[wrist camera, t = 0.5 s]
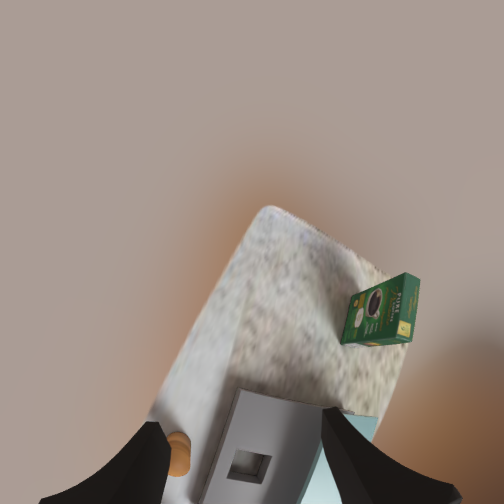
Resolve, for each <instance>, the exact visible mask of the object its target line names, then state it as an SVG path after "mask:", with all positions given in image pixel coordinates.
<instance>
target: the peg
mask: <svg viewBox="0 0 504 504" xmlns="http://www.w3.org/2000/svg"><path fill="white" fill-rule="evenodd" d="M167 440H168V442H169V444H170V446H171V448H172V450H171V460H170V468H169V472H168V475H170V476H174V477H180V476H183V475H185V474H187V473H188V471H189V470H190V456H191V441H190V439H189V437H188V436H187V435H185V434H184V433H181V432H173V433H171V434H169V435H168V437H167Z"/></svg>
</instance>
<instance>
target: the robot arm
mask: <svg viewBox="0 0 504 504" xmlns="http://www.w3.org/2000/svg"><path fill="white" fill-rule="evenodd" d="M321 440H322V444H323V449H324V453H325V457H326V459H327V462H328V465H329V468H330V470H331V473H332V476H333V478H334V481H335V483H336V486H337V489H338V491H339V495H340V498H341V502H342V504H460V503H461V501H462V499H463V498H462V496H461V495H460V493H459V492H458V490H457V489H456V488H455V487H454V485H453V484H449V483H445V482H442V481H438V480H435V479H432V478H429V477H427V476H424V475H422V474H419V473H417V472H415V471H413V470H411V469H409V468H407V467H405V466H403V465H401V464H400V463H398V462H396V461H395V460H393V459H392V458H390V457H389V456H387V455H386V454H384V453H383V452H382V451H380V450H379V449H378V448H377V447H375V446H374V445H373V444H372V443H371V442H370V441H368V440H367V439H366V438H365V437H364V436H363V435H362V434H361V433H360V432H359V431H358V430H357V429H356V428H355V427H354V426H353V425H352V424H351V423H350V422H349V421H348V419H347V418H346V417H345V416H344V415H343V413H342V412H341V411H340V410H339V408H338V407H332V408H327V409H322V426H321ZM171 450H172V448H171V446H170V444H169V442H168V440H167V438H166V436H165V434H164V432H163V430H162V428H161V426H160V424H159V422H148V421H146V422H145V423H144V425H143V426H142V427H141V428H140V429H139V430H138V431H137V433H136V434H135V435H134V436H133V437H132V438H131V440H130V441H129V442H128V443H127V444H126V445H125V446H124V447H123V448H122V449H121V451H120V452H119V453H118V454H117V455H116V456H115V457H114V458H112V459H111V460H110V461H109V462H108V463H107V464H106V465H105V466H104V467H102V468H101V469H100V470H99V471H97V472H96V473H95V474H94V475H92V476H91V477H89V478H87V479H86V480H84V481H83V482H81V483H79V484H78V485H76V486H74V487H72V488H70V489H68V490H65V491H63V492H61V493H58V494H55V495H52V496H49V497H46V498H42V499H41V500H40V502H39V504H161V500H162V496H163V492H164V488H165V484H166V480H167V476H168V472H169V468H170V460H171Z"/></svg>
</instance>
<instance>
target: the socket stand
mask: <svg viewBox="0 0 504 504" xmlns="http://www.w3.org/2000/svg"><path fill="white" fill-rule="evenodd" d="M327 408H332V407H325V406H319V405H314V404H308V403H303V402H298V401H293V400H288V399H283V398H279V397H274V396H270V395H266V394H262V393H258V392H254V391H250V390H246V389H243V388H239V387H238V388H237V391H236V394H235V397H234V400H233V403H232V406H231V409H230V413H229V416H228V419H227V422H226V425H225V428H224V431H223V434H222V437H221V440H220V443H219V446H218V449H217V452H216V455H215V458H214V460H213V463H212V466H211V469H210V472H209V475H208V478H207V481H206V484H205V486H204V489H203V492H202V495H201V498H200V500H199V503H198V504H342V502H341V498H340V495H339V491H338V489H337V486H336V483H335V481H334V478H333V476H332V473H331V470H330V468H329V465H328V462H327V459H326V457H325V453H324V449H323V444H322V440H321V426H322V409H327ZM339 410H340V411H341V412H342V413H343V415H344V416H345V417H346V418H347V419H348V421H349V422H350V423H351V424H352V425H353V426H354V427H355V428H356V429H357V430H358V431H359V432H360V433H361V434H362V435H363V436H364V437H365V438H366V439H367V440H368V441H370V442H371V440H372V437H373V434H374V430H375V427H376V424H377V420H378V418H377V417H372V416H361V415H354V414H355V412H352V411H349V410H345V409H339ZM237 449H238V450H243V451H248V452H253V453H259V454H265V455H264V458H263V460H262V463H261V466H260V469H259V471H258V474H257V476H254V475H247V474H242V473H236V472H231V471H229V470H230V467H231V464H232V461H233V458H234V455H235V453H236V450H237Z"/></svg>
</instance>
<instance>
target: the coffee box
mask: <svg viewBox="0 0 504 504" xmlns="http://www.w3.org/2000/svg"><path fill="white" fill-rule="evenodd" d="M419 287H420V279H419V278H417V277H415V276H413V275H411V274H409V273H406V272H405V273H403V274H401V275H398V276H396V277H394V278H392V279H390V280H387V281H385V282H383V283H381V284H378V285H376V286H374V287H371V288H369V289H367V290H365V291H362V292H360V293H357V294H355V295H353V296H352V298H351V303H350V306H349V312H348V316H347V321H346V325H345V329H344V332H343V337H342V340H341V345H344V346H349V347H353V348H360V347H371V346H383V345H392V344H400V343H408V342H412V338H413V332H414V326H415V320H416V313H417V306H418V298H419V289H420V288H419Z"/></svg>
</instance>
